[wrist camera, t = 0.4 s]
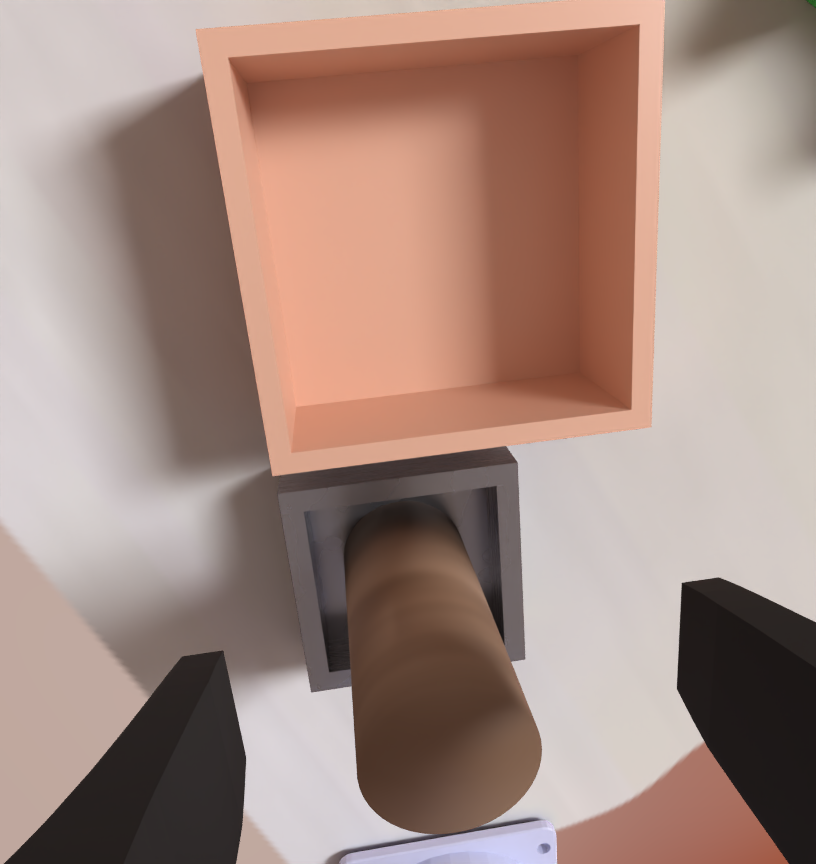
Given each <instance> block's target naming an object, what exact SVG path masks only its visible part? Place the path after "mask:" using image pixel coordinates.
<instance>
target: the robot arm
mask: <svg viewBox="0 0 816 864" xmlns="http://www.w3.org/2000/svg"><path fill="white" fill-rule="evenodd" d="M677 690H678V692H679V694H680V696H681V698H682V700H683V702H684V704H685V706H686V708H687V709H688V711H689V713H690V715H691V717H692V719H693V721H694V723H695V725H696V727H697V729H698V730H699V732H700V734H701V736H702V738H703V739H704V741H705V743H706V745H707V747H708V748H709V750H710V751H711V753H712V754H713V755H714V757H715V759H716V760H717V762H718V763H719V765H720V766H721V767H722V769H723V770H724V772H725V773H726V775H727V776H728V777H729V779H730V780H731V782H732V783H733V785H734V786H735V788H736V789H737V791H738V792H739V793H740V795H741V796H742V798H743V799H744V800H745V802H746V803H747V805H748V806H749V808H750V809H751V810H752V812H753V813H754V815H755V816H756V817H757V819H758V820H759V822H760V823H761V825H762V826H763V827H764V829H765V830H766V832H767V833H768V834H769V836H770V837H771V839H772V840H773V841H774V843H775V844H776V846H777V847H778V849H779V850H780V852H781V853H782V854H783V856H784V857H785V858H786V860H787V861H788V863H789V864H816V622H814V621H812V620H810V619H808V618H806V617H803V616H801V615H799V614H797V613H795V612H793V611H791V610H789V609H787V608H785V607H783V606H781V605H779V604H777V603H775V602H773V601H770V600H768V599H766V598H764V597H762V596H760V595H758V594H756V593H754V592H751V591H749V590H747V589H745V588H743V587H741V586H738V585H736V584H734V583H731V582H729V581H726V580H724V579H721V578H712V579H705V580H699V581H692V582H685V583H682V592H681V613H680V635H679V656H678V677H677ZM245 770H246V755H245V750H244V745H243V741H242V736H241V731H240V727H239V722H238V717H237V713H236V708H235V703H234V699H233V694H232V690H231V685H230V680H229V676H228V671H227V666H226V662H225V657H224V652H223V651H217V652H210V653H204V654H197V655H190V656H183V657H182V658H181V659H180V660H179V661H178V662H177V664H176V665H175V666H174V667H173V669H172V670H171V671H170V672H169V673H168V675H167V676H166V677H165V679H164V680H163V681H162V682H161V684H160V685H159V686H158V688H157V689H156V690H155V691H154V693H153V694H152V695H151V697H150V698H149V699H148V701H147V702H146V703H145V704H144V706H143V707H142V708H141V710H140V711H139V712H138V713H137V715H136V716H135V717H134V718H133V720H132V721H131V722H130V724H129V725H128V726H127V727H126V729H125V730H124V731H123V732H122V734H121V735H120V736H119V737H118V738H117V740H116V741H115V742H114V743H113V745H112V746H111V747H110V748H109V749H108V751H107V752H106V753H105V754H104V756H103V757H102V758H101V759H100V760H99V762H98V763H97V764H96V765H95V767H94V768H93V769H92V770H91V771H90V772H89V774H88V775H87V776H86V777H85V778H84V779H83V780H82V781H81V782H80V784H79V785H78V786H77V787H76V788H75V789H74V790H73V792H72V793H71V794H70V795H69V796H68V797H67V798H66V799H65V800H64V802H63V803H62V804H61V805H60V806H59V807H58V808H57V809H56V811H55V812H54V813H53V814H52V815H51V816H50V817H49V818H48V819H47V821H46V822H45V823H44V824H43V825H42V826H41V827H40V828H39V829H38V830H37V831H36V832H35V833H34V834H33V835H32V836H31V837H30V838H29V839H28V840H27V841H26V842H25V843H24V844H23V845H22V846H21V847H20V848H19V849H18V850H17V851H16V852H15V854H13V855H12V856H11V857H10V858H9V859H8V860H7V861H6V862H5V863H4V864H236V860H237V854H238V848H239V842H240V836H241V830H242V821H243V806H244V790H245ZM339 864H557V845H556V833H555V830H554V827H553V824H552V823H551V822H549V821H546V820H538V821H532V822H527V823H521V824H515V825H509V826H504V827H498V828H492V829H486V830H481V831H475V832H469V833H464V834H458V835H452V836H446V837H441V838H435V839H429V840H423V841H418V842H412V843H406V844H400V845H395V846H389V847H383V848H377V849H372V850H366V851H360V852H354V853H350V854H347V855H345V856H344V857H342V858H341V860H340V862H339Z"/></svg>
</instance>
